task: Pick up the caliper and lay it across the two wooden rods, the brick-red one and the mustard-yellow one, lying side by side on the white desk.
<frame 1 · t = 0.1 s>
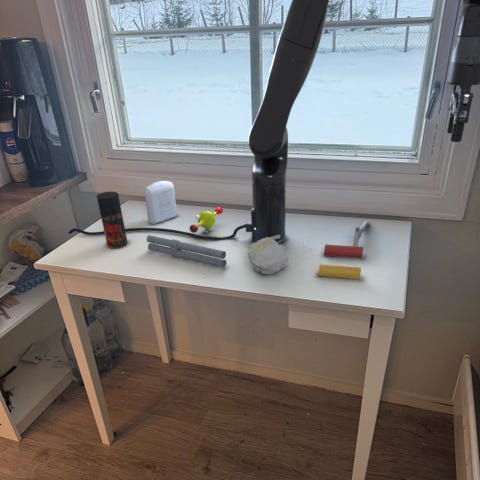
hand: (453, 137, 111), 29 cm above the table, tool pointing down, fingers open, 8 cm apart
fossil replica: (269, 270, 122), on the table
toy figure: (207, 232, 144), on the table
white rounded block: (163, 219, 155), on the table
deodorant: (117, 244, 140), on the table
red rod: (343, 256, 126), on the table
metal rod assembly: (185, 259, 129), on the table
yellow rod: (339, 277, 117), on the table
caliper: (360, 237, 137), on the table
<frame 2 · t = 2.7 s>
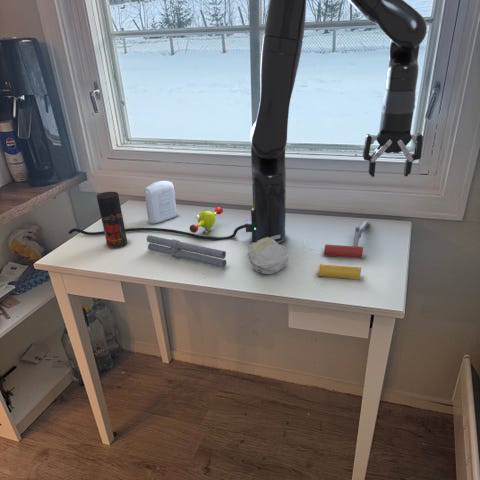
hand: (388, 175, 124), 18 cm above the table, tool pointing down, fingers open, 8 cm apart
nothing on the table moved.
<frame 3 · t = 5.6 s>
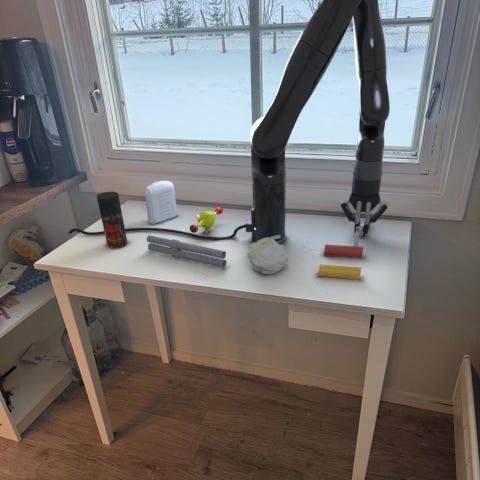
hand: (360, 234, 136), 1 cm above the table, tool pointing down, fingers closed on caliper, 1 cm apart
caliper: (360, 237, 137), on the table, touching gripper
everything else where it was.
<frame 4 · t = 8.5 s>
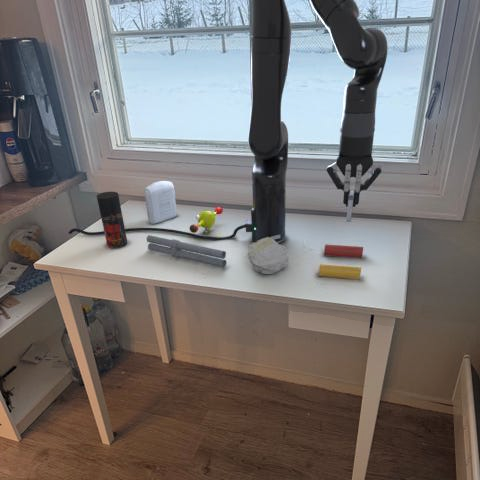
hand: (350, 205, 116), 15 cm above the table, tool pointing down, fingers closed on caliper, 1 cm apart
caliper: (350, 208, 117), point 14 cm above the table, touching gripper
everything else where it was.
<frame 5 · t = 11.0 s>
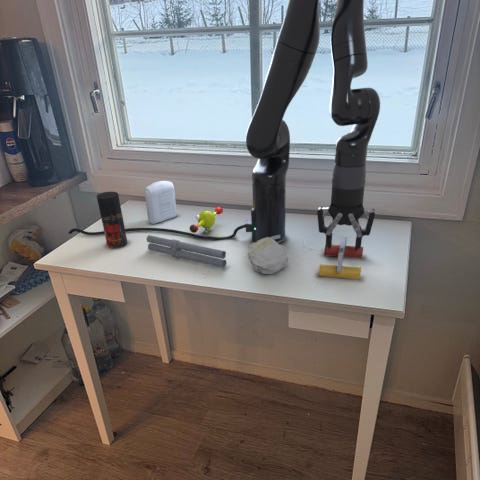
hand: (342, 248, 119), 5 cm above the table, tool pointing down, fingers open, 6 cm apart
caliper: (342, 256, 120), point 3 cm above the table, touching red rod, yellow rod
everything else where it was.
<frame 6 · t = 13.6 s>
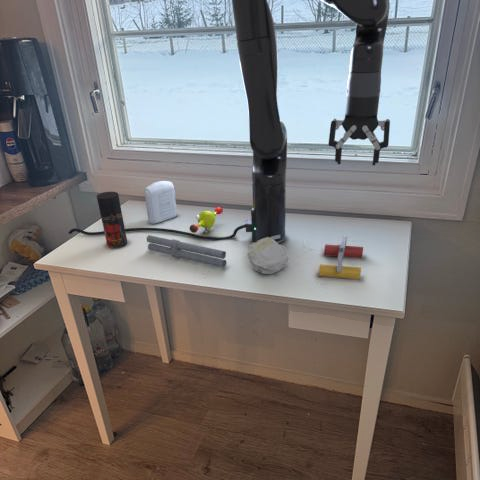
hand: (356, 164, 117), 23 cm above the table, tool pointing down, fingers open, 8 cm apart
nothing on the table moved.
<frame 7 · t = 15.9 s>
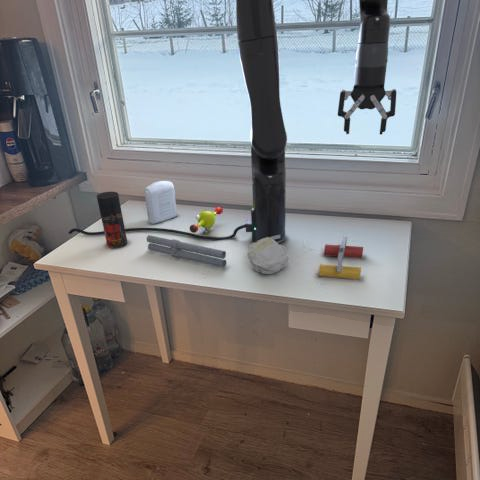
hand: (364, 133, 123), 28 cm above the table, tool pointing down, fingers open, 8 cm apart
nothing on the table moved.
at the end: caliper touching red rod, yellow rod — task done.
